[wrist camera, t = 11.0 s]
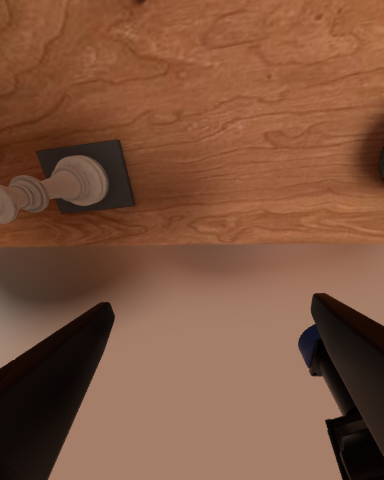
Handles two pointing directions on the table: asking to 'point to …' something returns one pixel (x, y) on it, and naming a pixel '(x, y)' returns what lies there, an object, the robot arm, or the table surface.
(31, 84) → the table surface
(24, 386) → the robot arm
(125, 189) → the mat
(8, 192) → the chess piece
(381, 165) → the cup
